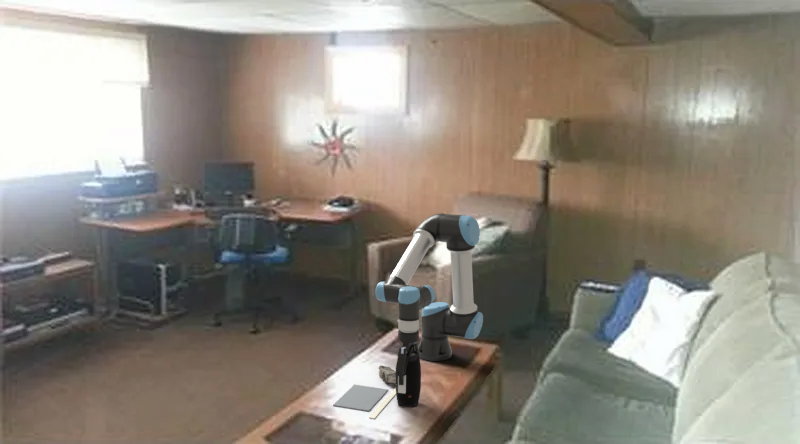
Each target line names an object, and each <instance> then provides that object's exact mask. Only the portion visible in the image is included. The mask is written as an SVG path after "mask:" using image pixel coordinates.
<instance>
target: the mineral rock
mask: <svg viewBox="0 0 800 444" xmlns="http://www.w3.org/2000/svg"><path fill="white" fill-rule="evenodd" d="M378 370H379V372H378V376H379V378H382V380H383V382H384V383H386V384H388V383H389V384H394V385H396V375H395V374H396V370H395V369H393V368H391V367H390V366H385V365H379V366H378Z"/></svg>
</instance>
